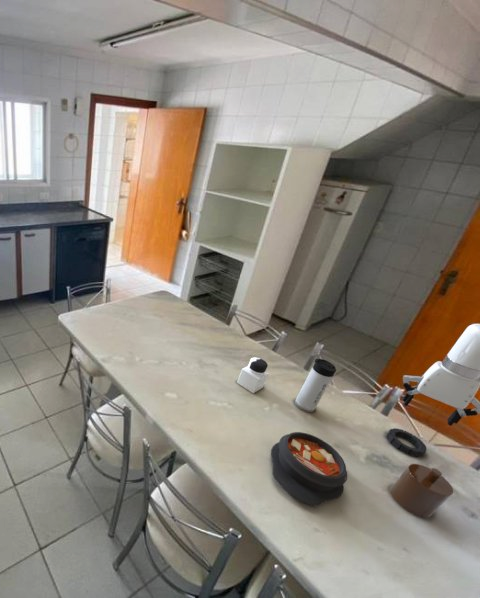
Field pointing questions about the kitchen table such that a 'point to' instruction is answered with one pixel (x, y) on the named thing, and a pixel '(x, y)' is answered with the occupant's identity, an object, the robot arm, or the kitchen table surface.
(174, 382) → the kitchen table surface
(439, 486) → the brown cylinder
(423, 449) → the black segmented ring
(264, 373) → the medicine bottle
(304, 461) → the casserole
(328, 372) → the travel mug
